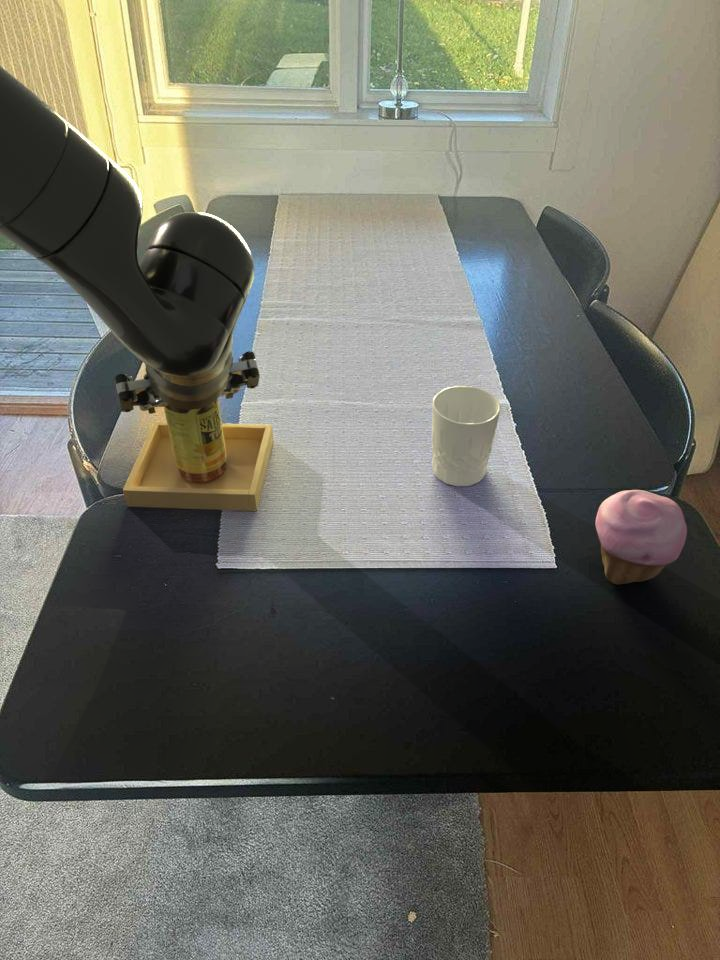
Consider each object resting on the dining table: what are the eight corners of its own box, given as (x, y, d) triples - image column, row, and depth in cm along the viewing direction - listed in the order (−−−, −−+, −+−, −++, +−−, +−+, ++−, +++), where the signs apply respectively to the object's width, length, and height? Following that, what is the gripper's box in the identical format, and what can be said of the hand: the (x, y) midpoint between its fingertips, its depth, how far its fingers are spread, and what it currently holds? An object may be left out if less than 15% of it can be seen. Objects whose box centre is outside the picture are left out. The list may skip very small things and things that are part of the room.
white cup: (430, 447, 92) (436, 382, 85) (491, 453, 91) (501, 388, 84) (424, 486, 86) (429, 420, 79) (489, 494, 85) (499, 427, 78)
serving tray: (127, 506, 83) (122, 490, 81) (157, 436, 93) (153, 421, 92) (257, 511, 83) (254, 495, 81) (273, 440, 93) (272, 424, 91)
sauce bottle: (219, 488, 85) (193, 344, 72) (170, 483, 85) (135, 339, 72) (235, 454, 90) (213, 313, 76) (188, 450, 90) (159, 309, 77)
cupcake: (577, 539, 79) (596, 471, 72) (655, 542, 79) (682, 475, 72) (591, 601, 72) (614, 533, 66) (677, 605, 72) (709, 537, 65)
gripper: (257, 306, 64) (244, 353, 80) (96, 332, 61) (115, 376, 76) (275, 385, 64) (259, 417, 80) (115, 415, 61) (131, 442, 76)
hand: (189, 397), depth 78 cm, fingers open, 8 cm apart
